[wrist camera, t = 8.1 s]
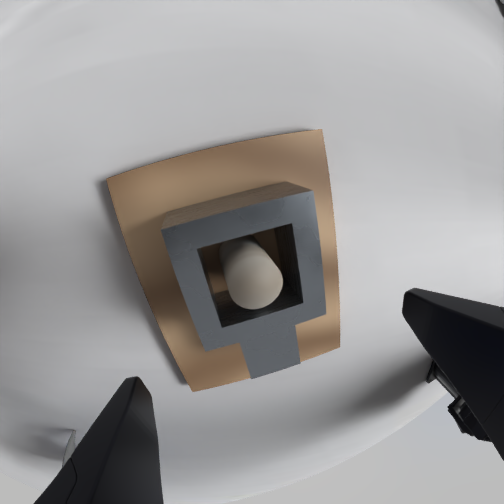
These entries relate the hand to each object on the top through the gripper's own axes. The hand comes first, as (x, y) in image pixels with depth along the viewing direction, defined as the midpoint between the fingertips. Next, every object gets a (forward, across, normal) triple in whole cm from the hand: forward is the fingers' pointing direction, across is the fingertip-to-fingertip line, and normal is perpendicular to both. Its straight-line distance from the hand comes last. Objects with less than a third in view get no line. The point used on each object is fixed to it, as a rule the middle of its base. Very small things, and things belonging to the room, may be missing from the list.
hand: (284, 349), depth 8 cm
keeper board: (+10, 0, +2) cm, 10 cm away
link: (+9, 0, +2) cm, 9 cm away
